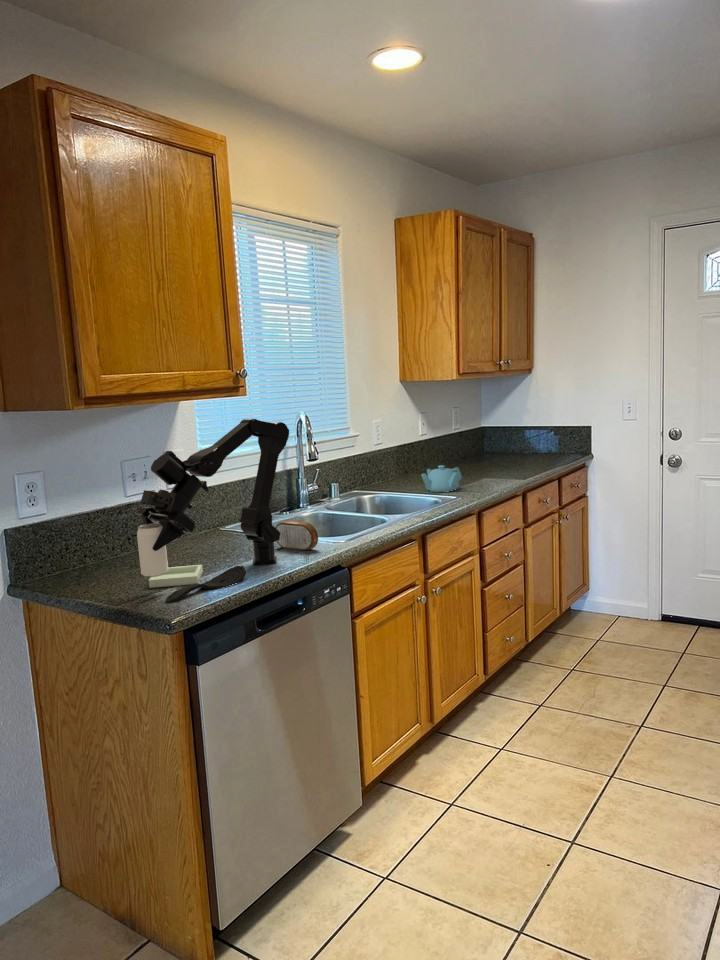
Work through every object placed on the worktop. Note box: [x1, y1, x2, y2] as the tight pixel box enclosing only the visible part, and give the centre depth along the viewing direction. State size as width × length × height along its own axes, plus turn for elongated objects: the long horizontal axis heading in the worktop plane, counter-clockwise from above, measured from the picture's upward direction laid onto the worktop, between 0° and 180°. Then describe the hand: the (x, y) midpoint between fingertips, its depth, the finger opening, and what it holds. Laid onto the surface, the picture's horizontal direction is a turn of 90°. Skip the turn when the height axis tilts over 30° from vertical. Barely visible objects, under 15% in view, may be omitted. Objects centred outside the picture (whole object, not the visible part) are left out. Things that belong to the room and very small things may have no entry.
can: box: [136, 523, 169, 578], centre depth 181 cm, size 6×6×12 cm
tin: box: [274, 519, 319, 551], centre depth 220 cm, size 15×3×8 cm, turn 56°
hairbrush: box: [164, 562, 247, 604], centre depth 183 cm, size 8×4×25 cm
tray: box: [148, 564, 204, 589], centre depth 193 cm, size 12×12×2 cm
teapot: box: [421, 464, 463, 491], centre depth 312 cm, size 15×15×11 cm
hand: (146, 548), depth 180 cm, fingers closed on can, 6 cm apart
